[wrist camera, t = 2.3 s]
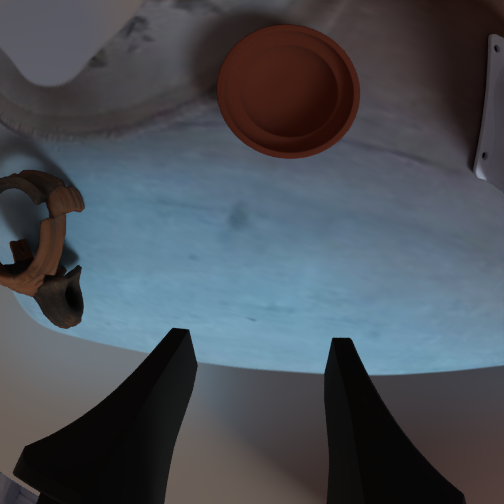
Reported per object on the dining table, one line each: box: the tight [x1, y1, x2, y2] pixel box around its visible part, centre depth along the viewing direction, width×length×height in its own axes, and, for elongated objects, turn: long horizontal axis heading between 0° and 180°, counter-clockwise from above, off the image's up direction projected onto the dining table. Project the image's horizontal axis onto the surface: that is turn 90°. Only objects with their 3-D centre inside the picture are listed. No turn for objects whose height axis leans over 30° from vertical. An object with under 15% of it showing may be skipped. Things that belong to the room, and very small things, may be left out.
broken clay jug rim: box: [0, 170, 85, 329], centre depth 19 cm, size 12×10×8 cm
